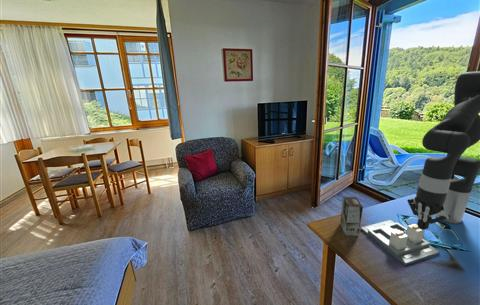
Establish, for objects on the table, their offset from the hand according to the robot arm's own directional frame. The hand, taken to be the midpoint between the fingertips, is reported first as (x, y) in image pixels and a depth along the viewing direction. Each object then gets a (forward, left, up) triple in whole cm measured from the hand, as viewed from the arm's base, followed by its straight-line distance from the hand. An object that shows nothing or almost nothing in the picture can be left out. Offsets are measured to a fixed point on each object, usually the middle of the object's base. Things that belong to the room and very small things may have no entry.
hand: (421, 228), depth 75 cm
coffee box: (+9, -24, -17) cm, 31 cm away
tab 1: (0, -7, -15) cm, 17 cm away
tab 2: (-10, -8, -15) cm, 20 cm away
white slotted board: (-5, -11, -17) cm, 21 cm away
